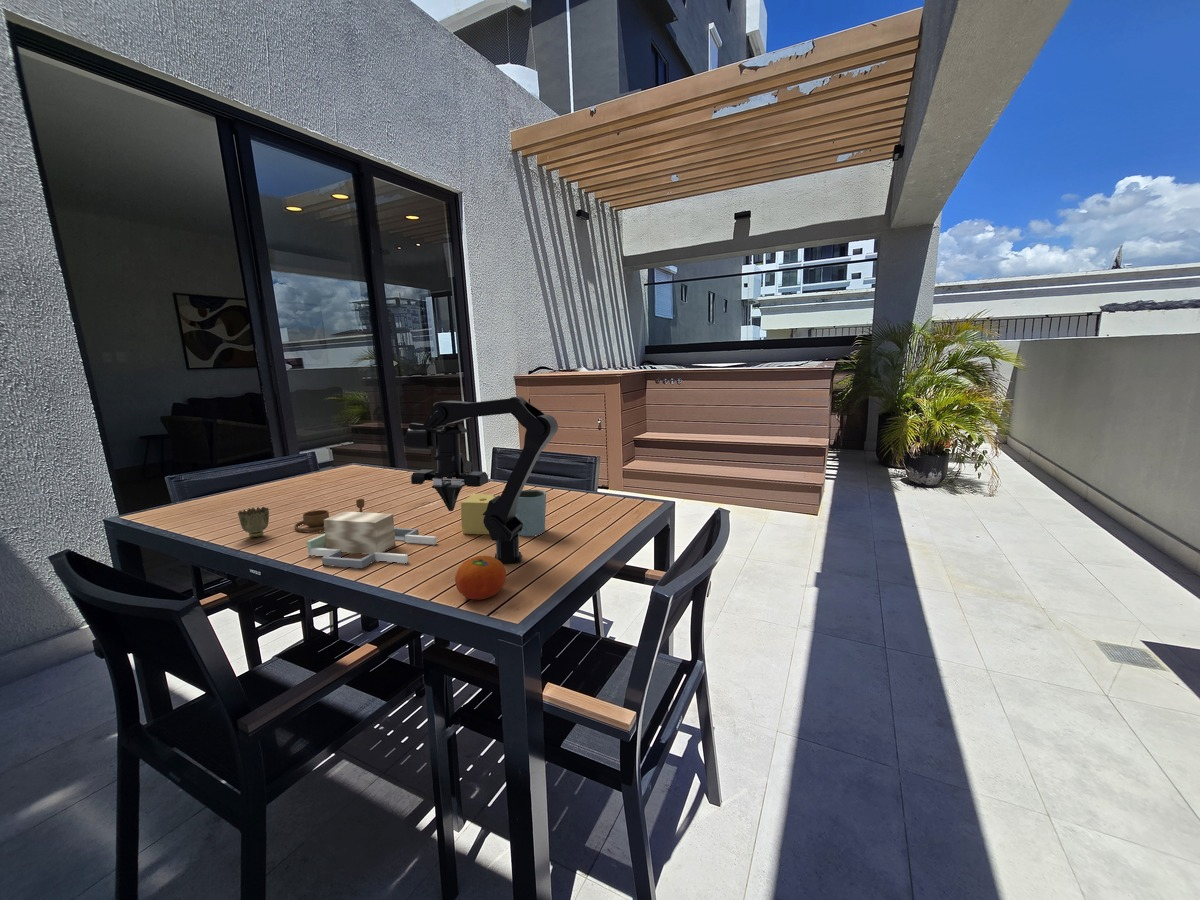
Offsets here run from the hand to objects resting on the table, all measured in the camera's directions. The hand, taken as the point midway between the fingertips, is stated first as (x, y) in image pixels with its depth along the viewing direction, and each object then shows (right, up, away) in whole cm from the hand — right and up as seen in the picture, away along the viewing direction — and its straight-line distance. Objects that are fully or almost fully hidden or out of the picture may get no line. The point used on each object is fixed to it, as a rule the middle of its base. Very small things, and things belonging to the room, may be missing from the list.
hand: (451, 510), depth 126 cm
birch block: (-27, -11, +7) cm, 30 cm away
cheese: (+3, -9, +23) cm, 25 cm away
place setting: (-46, -9, +29) cm, 55 cm away
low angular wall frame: (-22, -11, +6) cm, 25 cm away
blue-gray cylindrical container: (+17, -9, +20) cm, 28 cm away
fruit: (+13, -16, -21) cm, 29 cm away
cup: (-62, -10, +17) cm, 65 cm away
